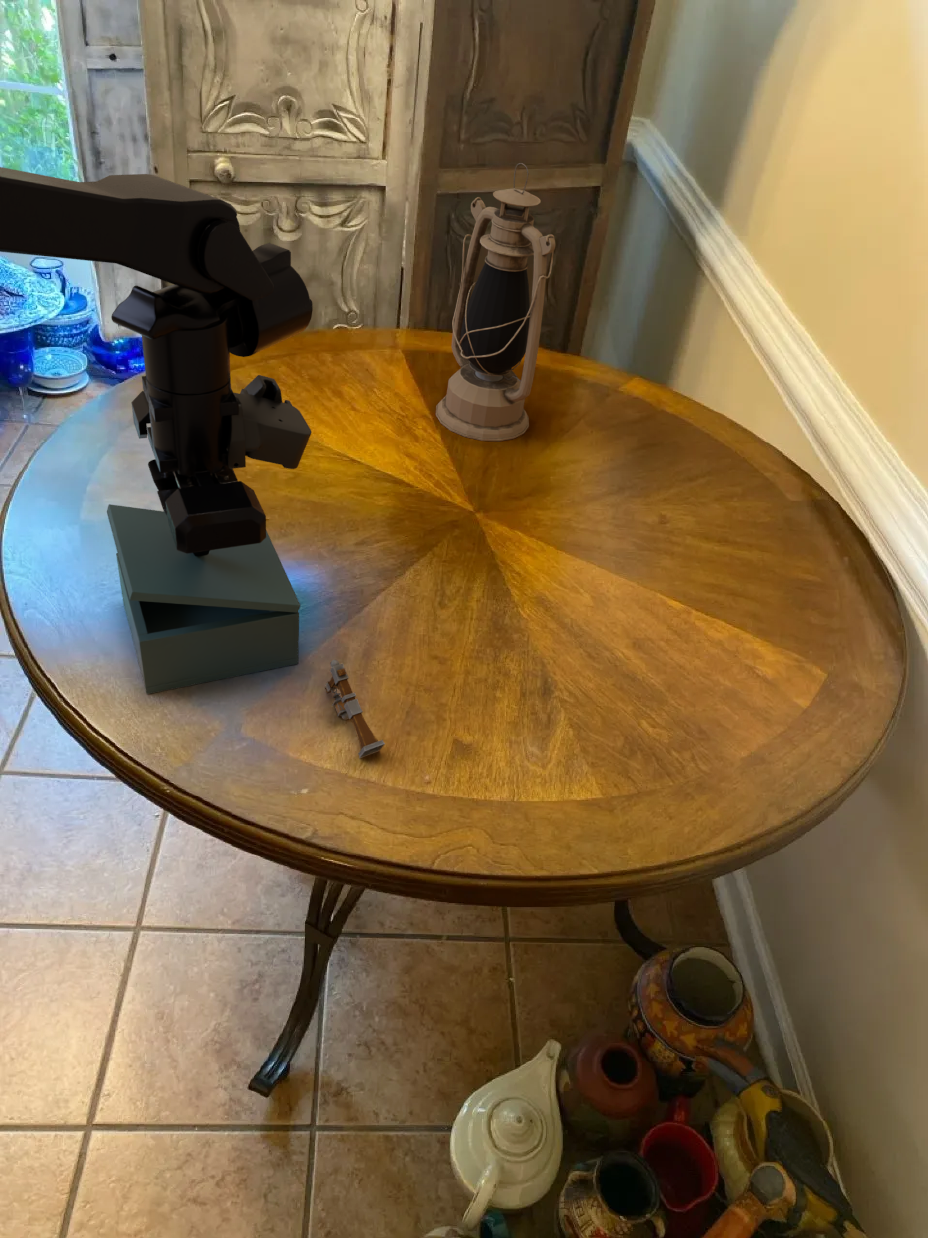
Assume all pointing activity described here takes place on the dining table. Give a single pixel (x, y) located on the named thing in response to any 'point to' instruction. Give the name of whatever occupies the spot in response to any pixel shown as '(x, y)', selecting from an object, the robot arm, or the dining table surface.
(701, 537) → the dining table surface
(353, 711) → the toy rocket launcher
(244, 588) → the lid
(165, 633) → the chest
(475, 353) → the lantern
